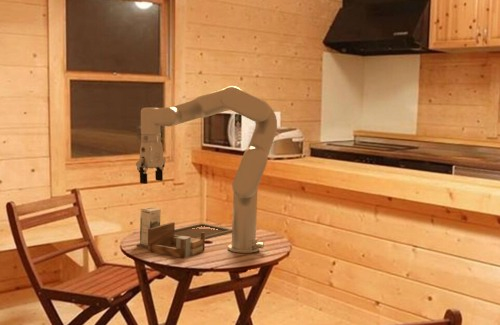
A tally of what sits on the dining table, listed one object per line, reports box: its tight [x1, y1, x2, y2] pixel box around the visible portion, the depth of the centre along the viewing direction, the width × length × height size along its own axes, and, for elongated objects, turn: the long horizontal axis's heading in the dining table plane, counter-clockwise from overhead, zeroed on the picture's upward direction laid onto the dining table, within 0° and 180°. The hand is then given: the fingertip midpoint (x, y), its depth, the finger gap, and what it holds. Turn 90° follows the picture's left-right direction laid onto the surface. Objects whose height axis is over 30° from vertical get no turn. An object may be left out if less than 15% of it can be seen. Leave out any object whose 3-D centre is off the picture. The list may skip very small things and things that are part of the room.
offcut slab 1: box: [191, 238, 203, 249], centre depth 226 cm, size 5×6×2 cm
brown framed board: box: [174, 222, 232, 240], centre depth 259 cm, size 19×2×30 cm
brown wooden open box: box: [147, 221, 206, 259], centre depth 227 cm, size 16×16×9 cm
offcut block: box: [175, 236, 191, 258], centre depth 221 cm, size 4×4×7 cm
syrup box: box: [139, 206, 161, 246], centre depth 233 cm, size 6×6×14 cm
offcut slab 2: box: [190, 246, 204, 256], centre depth 226 cm, size 5×6×2 cm
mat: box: [136, 243, 148, 249], centre depth 234 cm, size 7×7×1 cm
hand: (151, 181), depth 231 cm, fingers open, 9 cm apart
